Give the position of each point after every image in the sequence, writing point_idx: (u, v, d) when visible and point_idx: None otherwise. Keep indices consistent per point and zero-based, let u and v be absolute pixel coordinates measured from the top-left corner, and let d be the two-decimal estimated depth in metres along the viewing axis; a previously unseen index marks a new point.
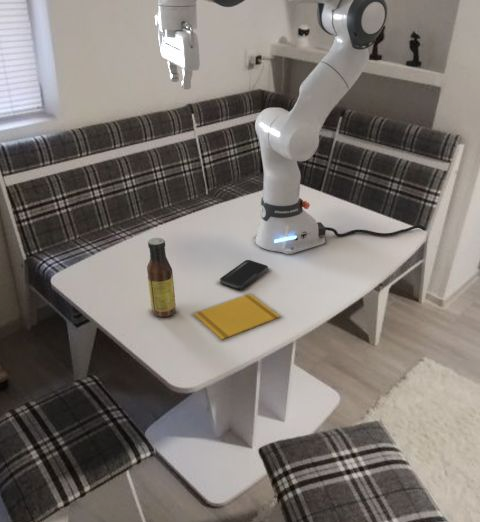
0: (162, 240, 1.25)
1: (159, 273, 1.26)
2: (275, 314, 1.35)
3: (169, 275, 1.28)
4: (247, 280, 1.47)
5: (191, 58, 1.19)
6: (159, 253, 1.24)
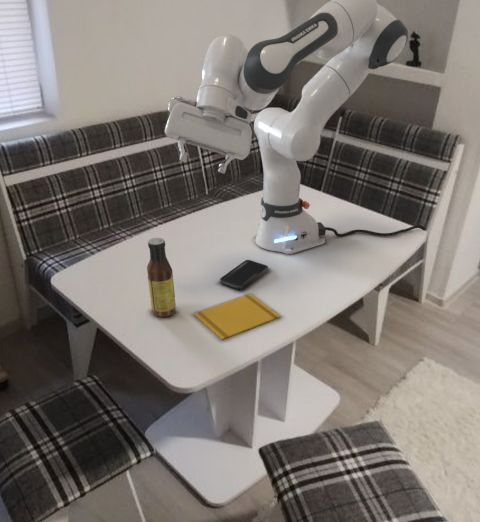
0: (162, 240, 1.25)
1: (159, 273, 1.26)
2: (275, 314, 1.35)
3: (169, 275, 1.28)
4: (247, 280, 1.47)
5: None
6: (159, 253, 1.24)
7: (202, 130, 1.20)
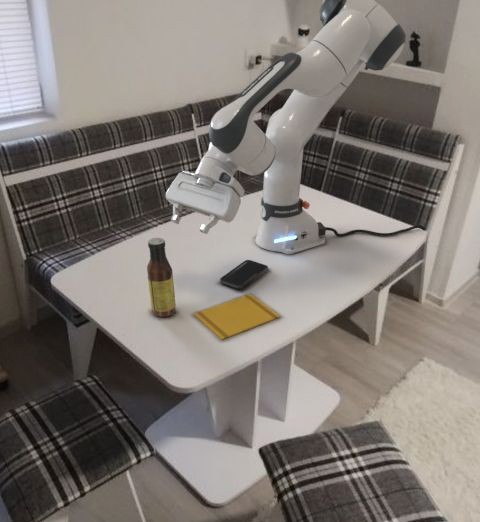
0: (162, 240, 1.25)
1: (159, 273, 1.26)
2: (275, 314, 1.35)
3: (169, 275, 1.28)
4: (247, 280, 1.47)
5: None
6: (159, 253, 1.24)
7: (192, 195, 1.30)
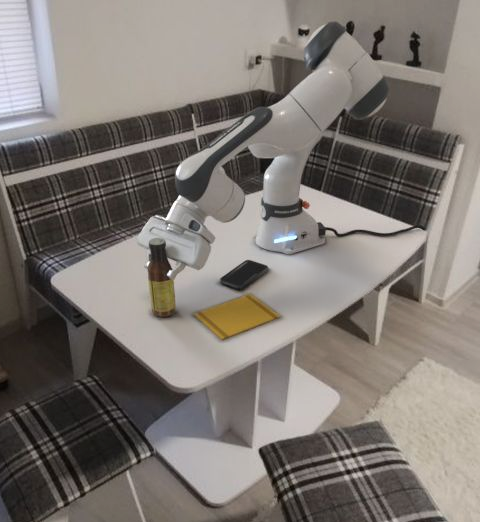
0: (163, 240, 1.24)
1: (160, 273, 1.26)
2: (275, 314, 1.35)
3: None
4: (247, 280, 1.47)
5: None
6: (159, 253, 1.24)
7: None
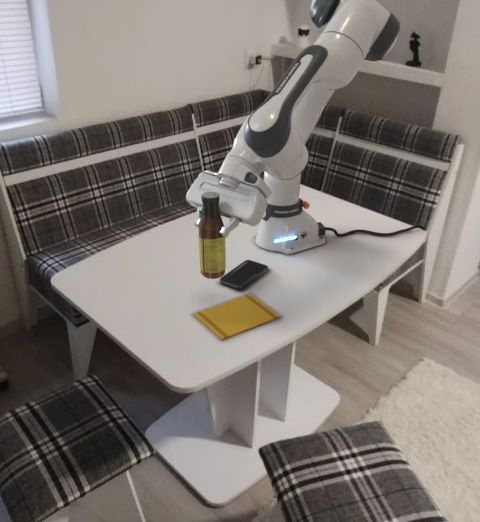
0: (217, 194, 1.16)
1: (213, 230, 1.18)
2: (275, 314, 1.35)
3: None
4: (247, 280, 1.47)
5: None
6: (213, 207, 1.16)
7: None
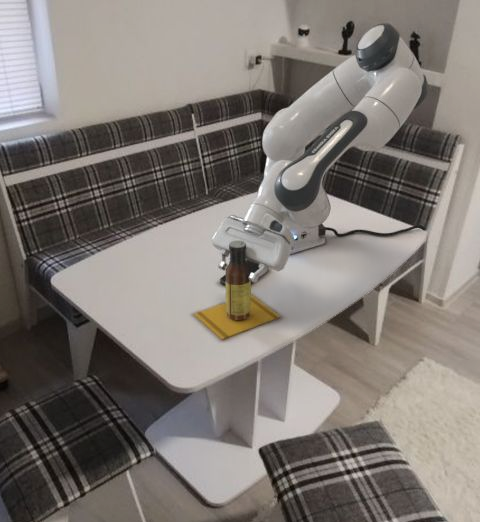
0: (243, 243, 1.23)
1: (240, 276, 1.24)
2: (275, 314, 1.35)
3: None
4: None
5: None
6: (240, 256, 1.23)
7: None
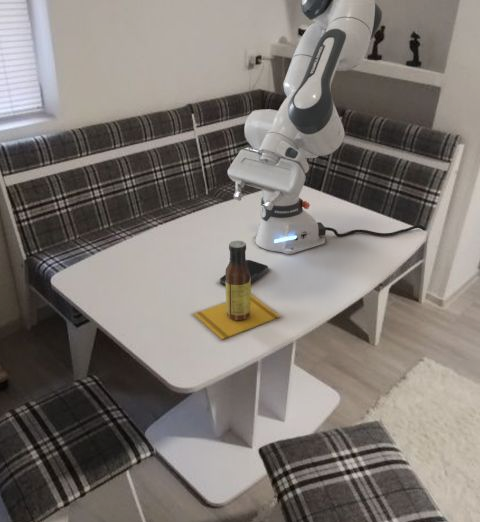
0: (243, 243, 1.23)
1: (240, 276, 1.24)
2: (275, 314, 1.35)
3: (248, 278, 1.27)
4: None
5: None
6: (240, 256, 1.23)
7: (256, 171, 1.29)
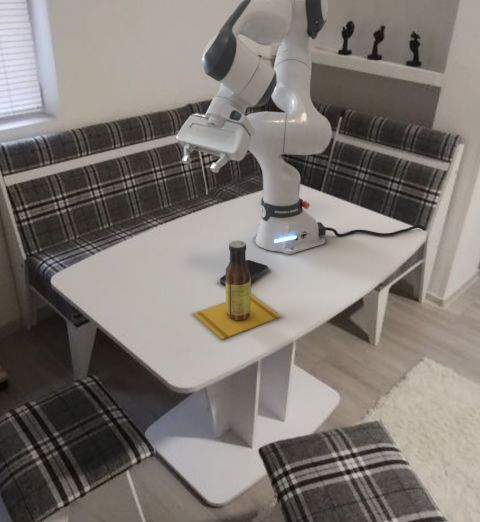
0: (243, 243, 1.23)
1: (240, 276, 1.24)
2: (275, 314, 1.35)
3: (248, 278, 1.27)
4: None
5: None
6: (240, 256, 1.23)
7: (202, 135, 1.31)
